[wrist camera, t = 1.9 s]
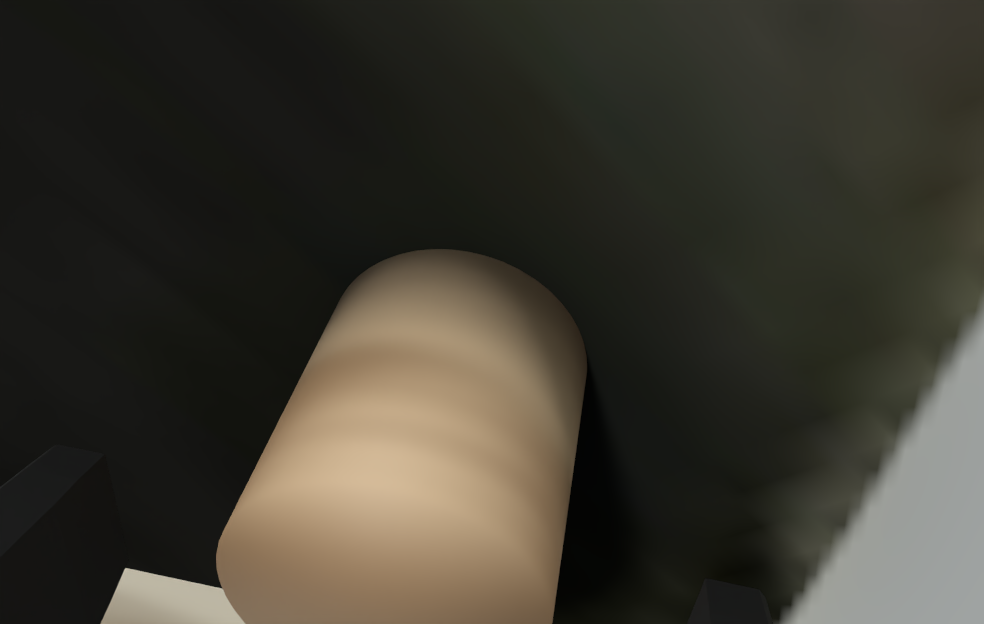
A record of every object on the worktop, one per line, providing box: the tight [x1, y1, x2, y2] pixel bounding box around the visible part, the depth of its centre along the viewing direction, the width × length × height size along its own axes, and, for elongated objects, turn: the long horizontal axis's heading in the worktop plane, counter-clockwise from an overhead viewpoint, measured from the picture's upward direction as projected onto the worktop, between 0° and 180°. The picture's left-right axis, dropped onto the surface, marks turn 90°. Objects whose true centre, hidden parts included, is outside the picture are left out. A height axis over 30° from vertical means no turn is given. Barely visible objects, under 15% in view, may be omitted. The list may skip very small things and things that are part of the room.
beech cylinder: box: [216, 249, 587, 624], centre depth 13 cm, size 4×4×4 cm
